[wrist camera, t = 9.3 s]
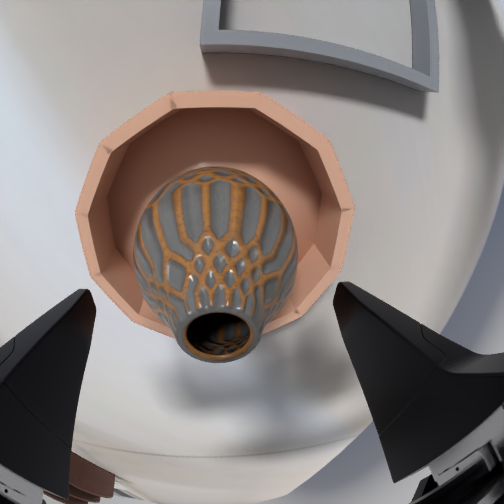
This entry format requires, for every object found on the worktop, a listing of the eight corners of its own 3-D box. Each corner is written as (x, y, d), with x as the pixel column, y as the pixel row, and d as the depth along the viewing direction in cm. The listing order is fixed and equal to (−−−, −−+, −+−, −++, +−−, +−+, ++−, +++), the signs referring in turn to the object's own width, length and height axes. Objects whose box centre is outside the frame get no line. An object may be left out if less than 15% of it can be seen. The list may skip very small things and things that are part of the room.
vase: (148, 261, 16) (111, 385, 8) (162, 145, 12) (89, 199, 5) (259, 278, 17) (291, 400, 10) (291, 171, 14) (377, 250, 6)
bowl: (337, 106, 13) (368, 107, 10) (309, 301, 20) (323, 334, 17) (94, 107, 11) (64, 109, 8) (124, 307, 18) (113, 341, 15)
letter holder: (88, 469, 44) (85, 510, 32) (37, 439, 34) (28, 487, 22) (115, 474, 44) (113, 518, 32) (63, 444, 34) (54, 499, 22)
